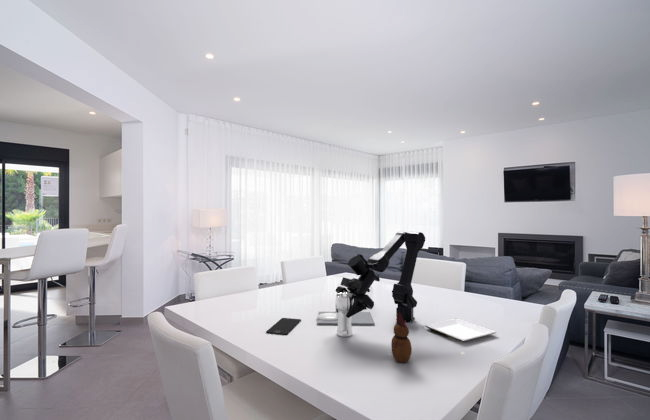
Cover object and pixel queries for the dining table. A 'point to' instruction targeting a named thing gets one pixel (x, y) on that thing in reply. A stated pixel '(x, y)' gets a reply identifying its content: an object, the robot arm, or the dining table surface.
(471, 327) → the plate
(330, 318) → the base plate
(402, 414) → the dining table surface
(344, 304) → the beer glass
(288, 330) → the cell phone
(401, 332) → the wooden figurine
